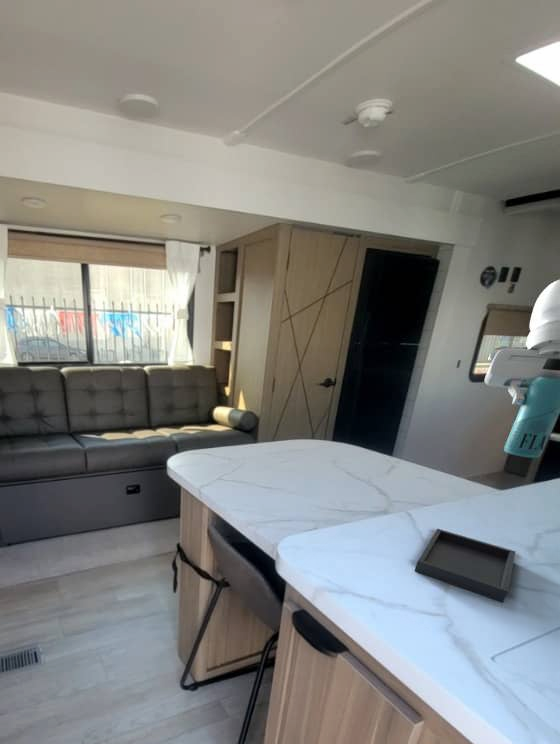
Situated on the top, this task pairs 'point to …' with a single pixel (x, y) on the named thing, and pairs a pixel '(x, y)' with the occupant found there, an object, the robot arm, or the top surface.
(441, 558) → the tray
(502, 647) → the top surface
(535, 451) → the beverage bottle
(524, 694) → the top surface
